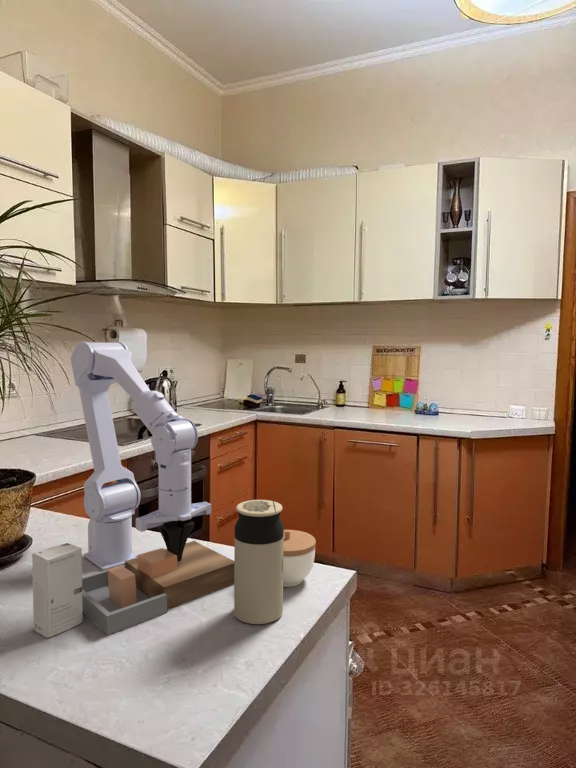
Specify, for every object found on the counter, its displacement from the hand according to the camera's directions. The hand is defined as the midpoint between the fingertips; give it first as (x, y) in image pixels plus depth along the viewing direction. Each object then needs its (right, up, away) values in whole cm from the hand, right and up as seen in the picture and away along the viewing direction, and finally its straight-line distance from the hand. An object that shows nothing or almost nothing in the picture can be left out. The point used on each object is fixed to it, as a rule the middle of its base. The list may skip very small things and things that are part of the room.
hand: (175, 560), depth 97 cm
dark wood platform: (+1, -5, +1) cm, 5 cm away
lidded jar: (+20, -5, +3) cm, 21 cm away
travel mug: (+16, -6, -9) cm, 19 cm away
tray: (-8, -5, -7) cm, 12 cm away
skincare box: (-15, -6, -14) cm, 22 cm away
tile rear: (-3, -1, -3) cm, 4 cm away
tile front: (-7, -2, -6) cm, 9 cm away
